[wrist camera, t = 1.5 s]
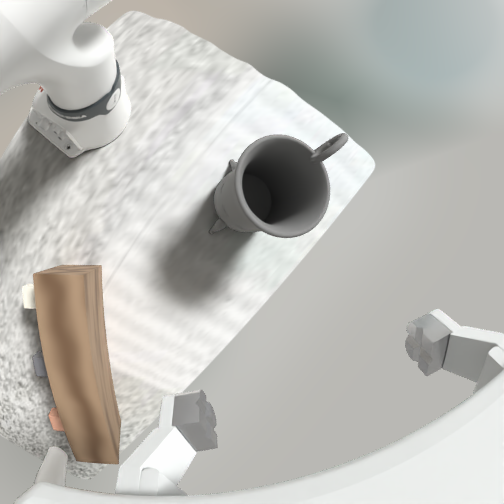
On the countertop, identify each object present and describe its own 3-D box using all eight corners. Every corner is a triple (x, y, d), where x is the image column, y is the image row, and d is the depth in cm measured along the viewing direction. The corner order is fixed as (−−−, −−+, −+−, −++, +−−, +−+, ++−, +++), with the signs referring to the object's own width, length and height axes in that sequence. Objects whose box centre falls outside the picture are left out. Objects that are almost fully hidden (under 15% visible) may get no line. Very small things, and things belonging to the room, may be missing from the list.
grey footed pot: (236, 261, 54) (303, 278, 31) (181, 204, 50) (208, 173, 27) (299, 196, 58) (386, 174, 35) (252, 141, 54) (319, 85, 31)
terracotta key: (56, 421, 37) (53, 430, 34) (52, 407, 37) (48, 415, 34) (81, 424, 39) (79, 433, 36) (77, 410, 39) (74, 418, 36)
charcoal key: (41, 368, 37) (36, 375, 34) (37, 351, 37) (32, 357, 34) (67, 371, 39) (63, 378, 36) (63, 353, 39) (59, 359, 36)
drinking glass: (58, 464, 41) (49, 504, 27) (40, 445, 39) (26, 485, 25) (76, 459, 43) (69, 502, 29) (58, 440, 41) (46, 482, 27)
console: (86, 419, 44) (76, 461, 31) (61, 264, 43) (33, 273, 30) (121, 421, 47) (118, 464, 34) (101, 265, 46) (83, 275, 32)
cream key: (30, 304, 36) (24, 308, 33) (28, 283, 36) (22, 286, 33) (57, 305, 38) (51, 309, 35) (55, 284, 38) (49, 287, 35)
